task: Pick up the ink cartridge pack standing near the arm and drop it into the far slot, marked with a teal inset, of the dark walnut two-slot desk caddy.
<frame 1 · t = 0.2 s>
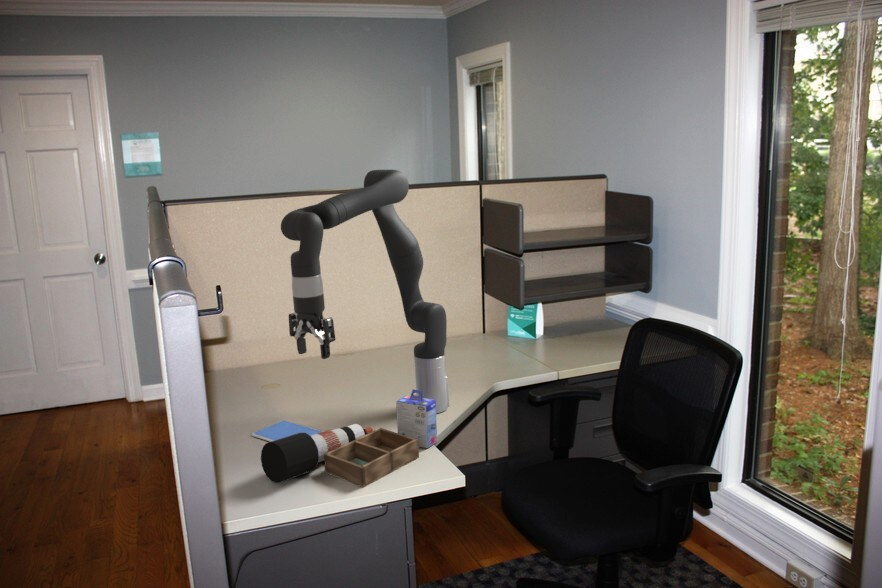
hand: (313, 355, 183), 29 cm above the table, fingers open, 8 cm apart
ink cartridge box: (418, 443, 198), on the table
blue flat pad: (289, 437, 207), on the table
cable: (326, 461, 190), on the table
slot caddy: (373, 464, 186), on the table
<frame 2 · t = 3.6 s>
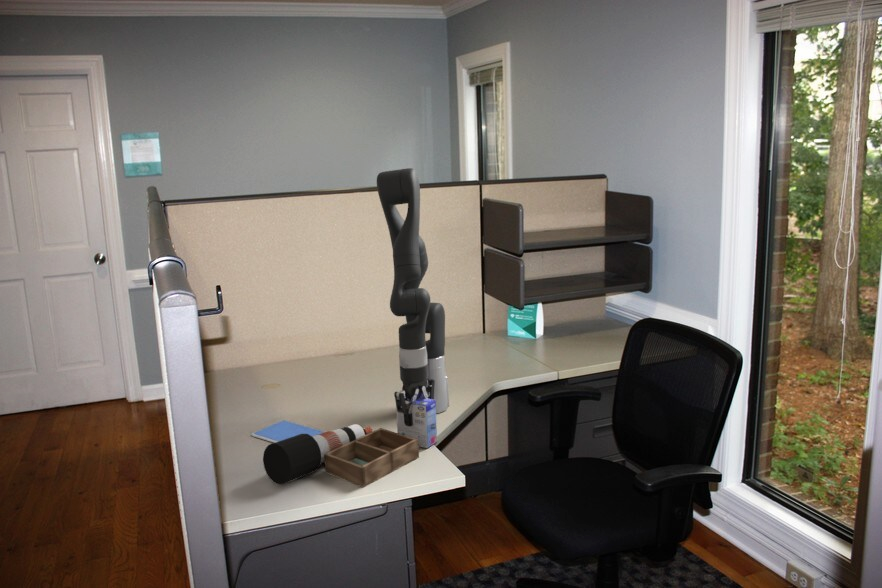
hand: (416, 421, 197), 6 cm above the table, fingers closed on ink cartridge box, 6 cm apart
ink cartridge box: (418, 442, 198), on the table, touching gripper
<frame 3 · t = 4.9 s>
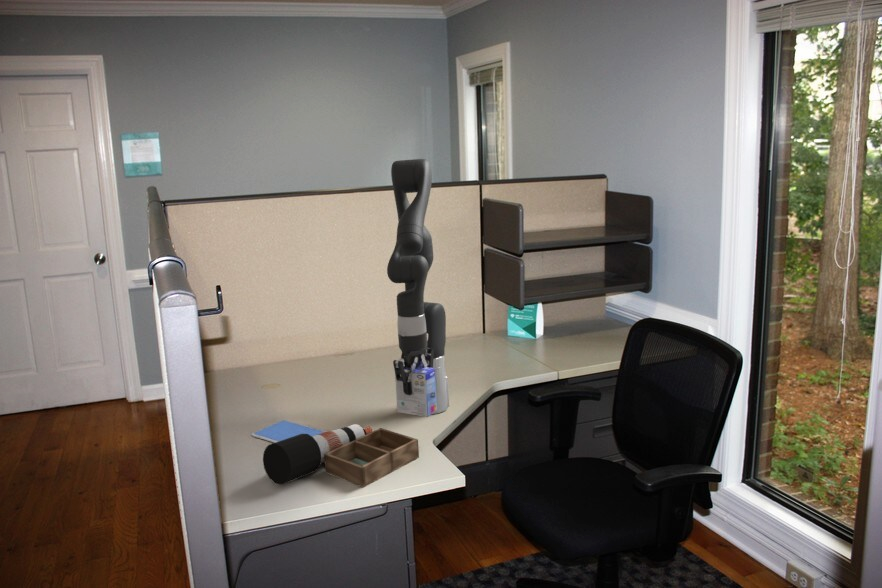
hand: (416, 390, 195), 15 cm above the table, fingers closed on ink cartridge box, 6 cm apart
ink cartridge box: (417, 412, 197), point 9 cm above the table, touching gripper
everything else where it was.
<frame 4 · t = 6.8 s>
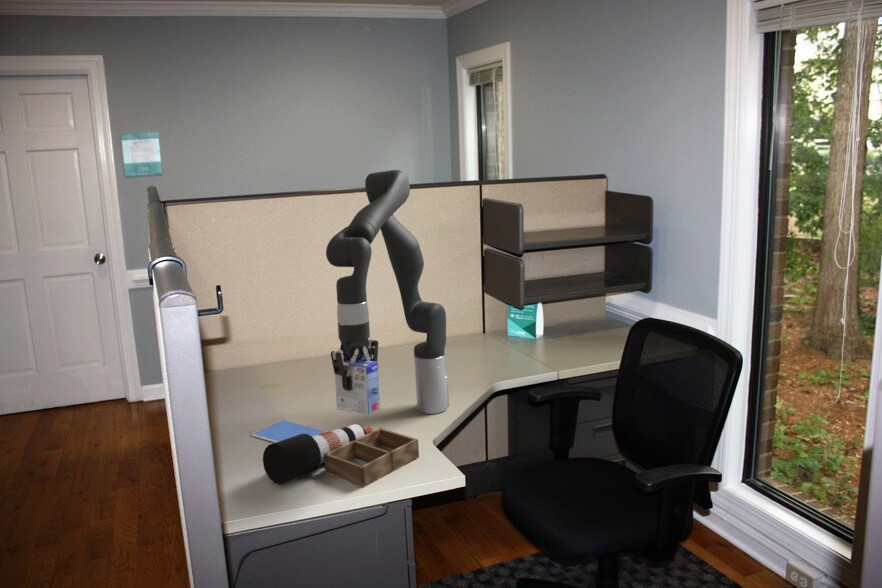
hand: (357, 386, 178), 22 cm above the table, fingers closed on ink cartridge box, 6 cm apart
ink cartridge box: (359, 410, 180), point 16 cm above the table, touching gripper
everything else where it was.
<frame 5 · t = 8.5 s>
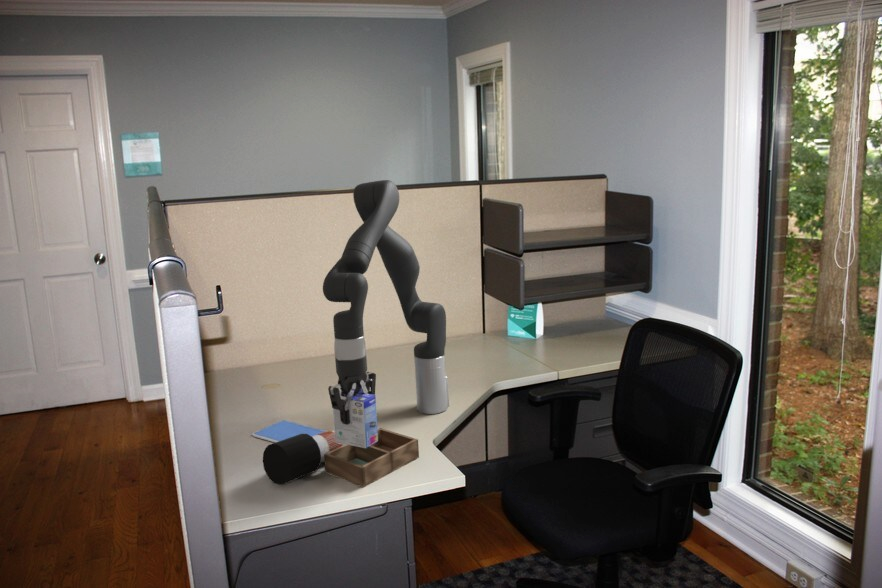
hand: (355, 419, 179), 14 cm above the table, fingers closed on ink cartridge box, 6 cm apart
ink cartridge box: (357, 442, 181), point 8 cm above the table, touching gripper
everything else where it was.
when the fingers open (8 cm above the table, at t = 10.2 s): ink cartridge box drops 1 cm, resting on slot caddy.
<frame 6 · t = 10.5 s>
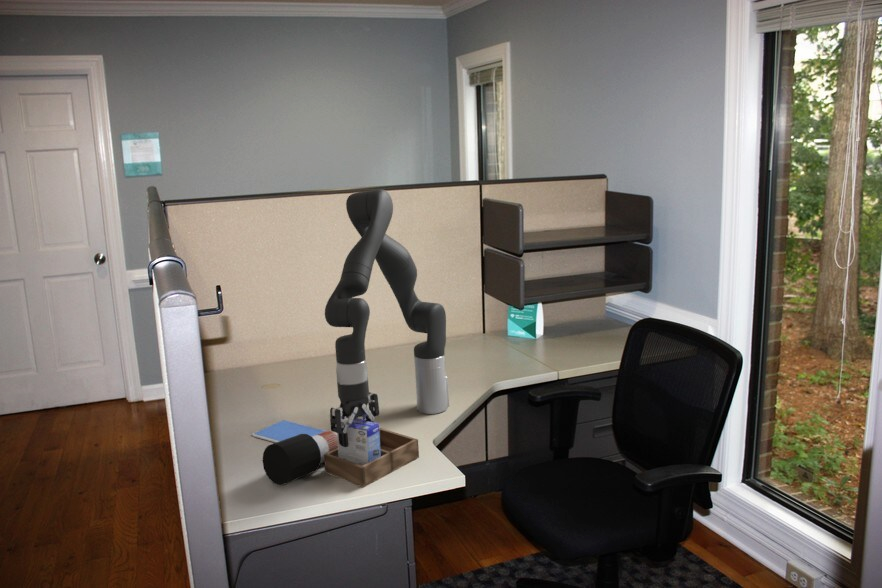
hand: (357, 440, 180), 8 cm above the table, fingers open, 8 cm apart
ink cartridge box: (360, 469, 182), resting on slot caddy
everything else where it was.
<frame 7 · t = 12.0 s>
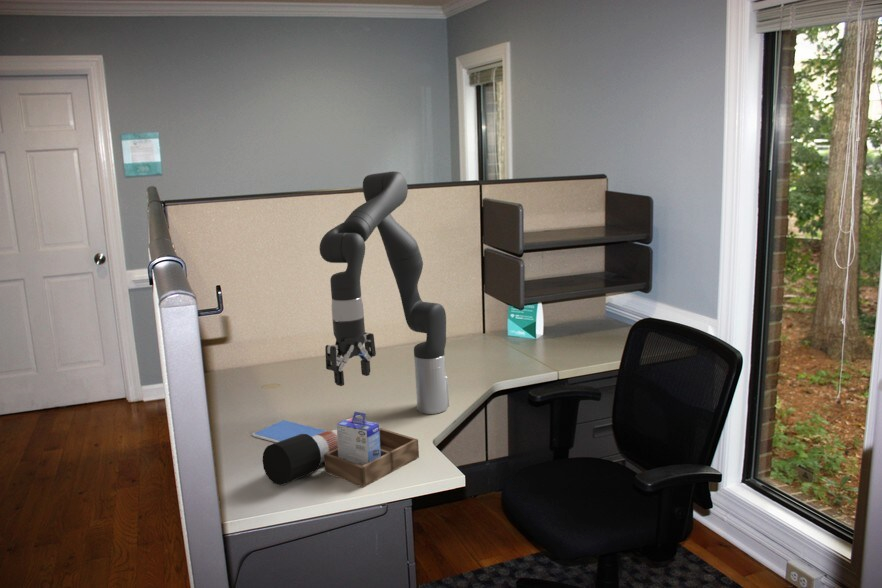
hand: (353, 380, 177), 24 cm above the table, fingers open, 8 cm apart
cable: (326, 462, 190), on the table, touching slot caddy
everything else where it was.
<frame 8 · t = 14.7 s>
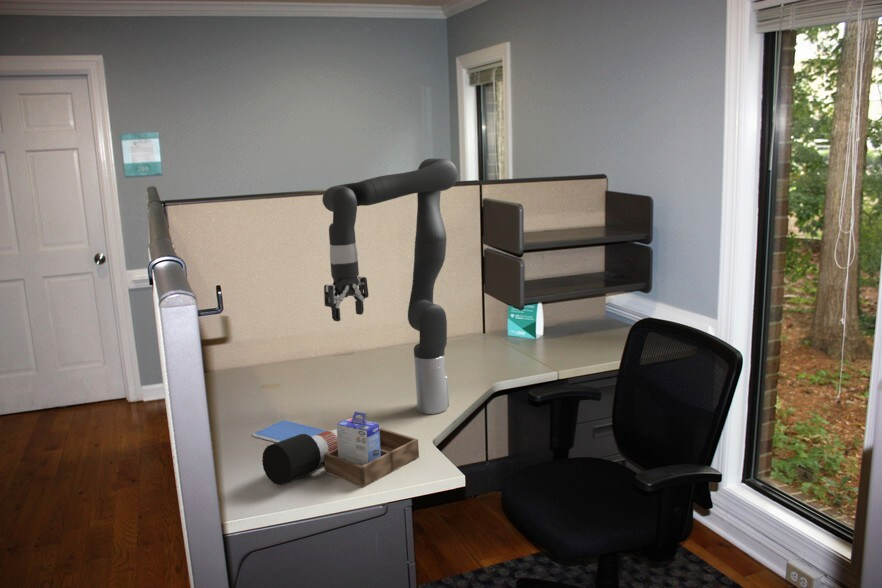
hand: (348, 317, 202), 33 cm above the table, fingers open, 8 cm apart
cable: (325, 462, 190), on the table
everything else where it was.
at the end: ink cartridge box 0.5 cm from the target spot on the slot caddy, point 0.4 cm above the slot caddy's base; ink cartridge box tilted 0°; the gripper is holding nothing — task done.
